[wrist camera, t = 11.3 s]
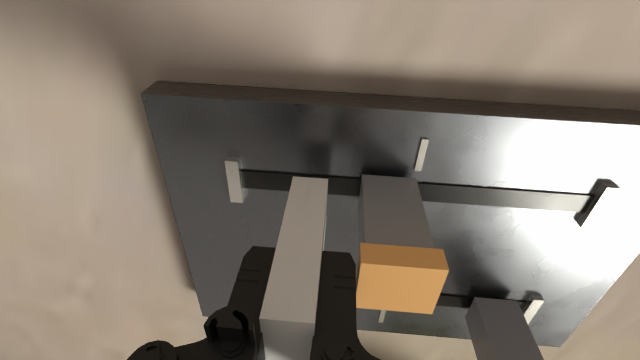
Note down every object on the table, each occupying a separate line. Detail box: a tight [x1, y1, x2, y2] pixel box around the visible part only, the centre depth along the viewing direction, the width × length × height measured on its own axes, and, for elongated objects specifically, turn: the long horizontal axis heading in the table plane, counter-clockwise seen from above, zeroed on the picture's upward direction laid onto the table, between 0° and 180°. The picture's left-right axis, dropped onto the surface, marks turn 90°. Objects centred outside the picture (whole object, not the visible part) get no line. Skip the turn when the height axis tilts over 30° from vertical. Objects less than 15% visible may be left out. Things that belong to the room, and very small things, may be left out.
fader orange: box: [356, 174, 449, 314], centre depth 14 cm, size 3×2×5 cm
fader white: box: [465, 297, 544, 360], centre depth 18 cm, size 3×2×5 cm
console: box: [141, 81, 640, 347], centre depth 19 cm, size 24×16×2 cm, turn 88°
